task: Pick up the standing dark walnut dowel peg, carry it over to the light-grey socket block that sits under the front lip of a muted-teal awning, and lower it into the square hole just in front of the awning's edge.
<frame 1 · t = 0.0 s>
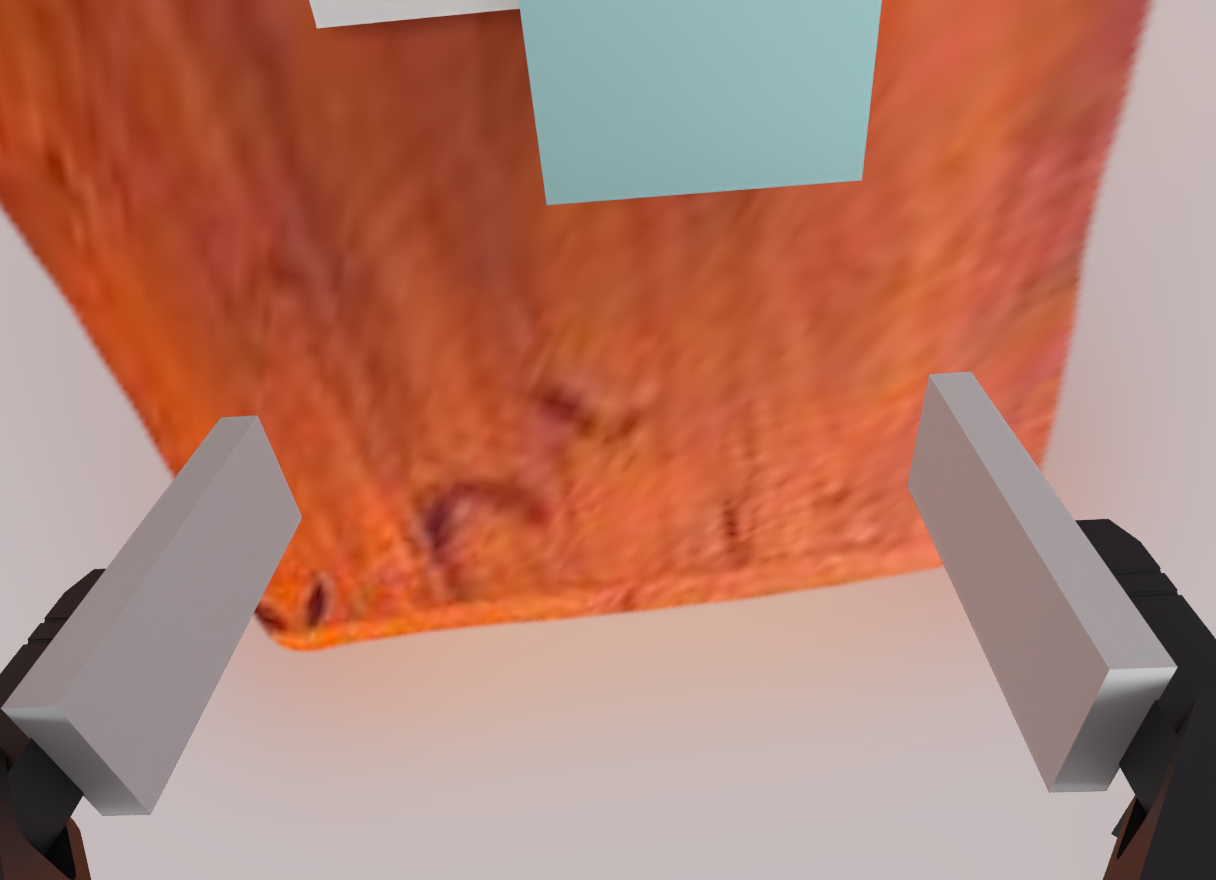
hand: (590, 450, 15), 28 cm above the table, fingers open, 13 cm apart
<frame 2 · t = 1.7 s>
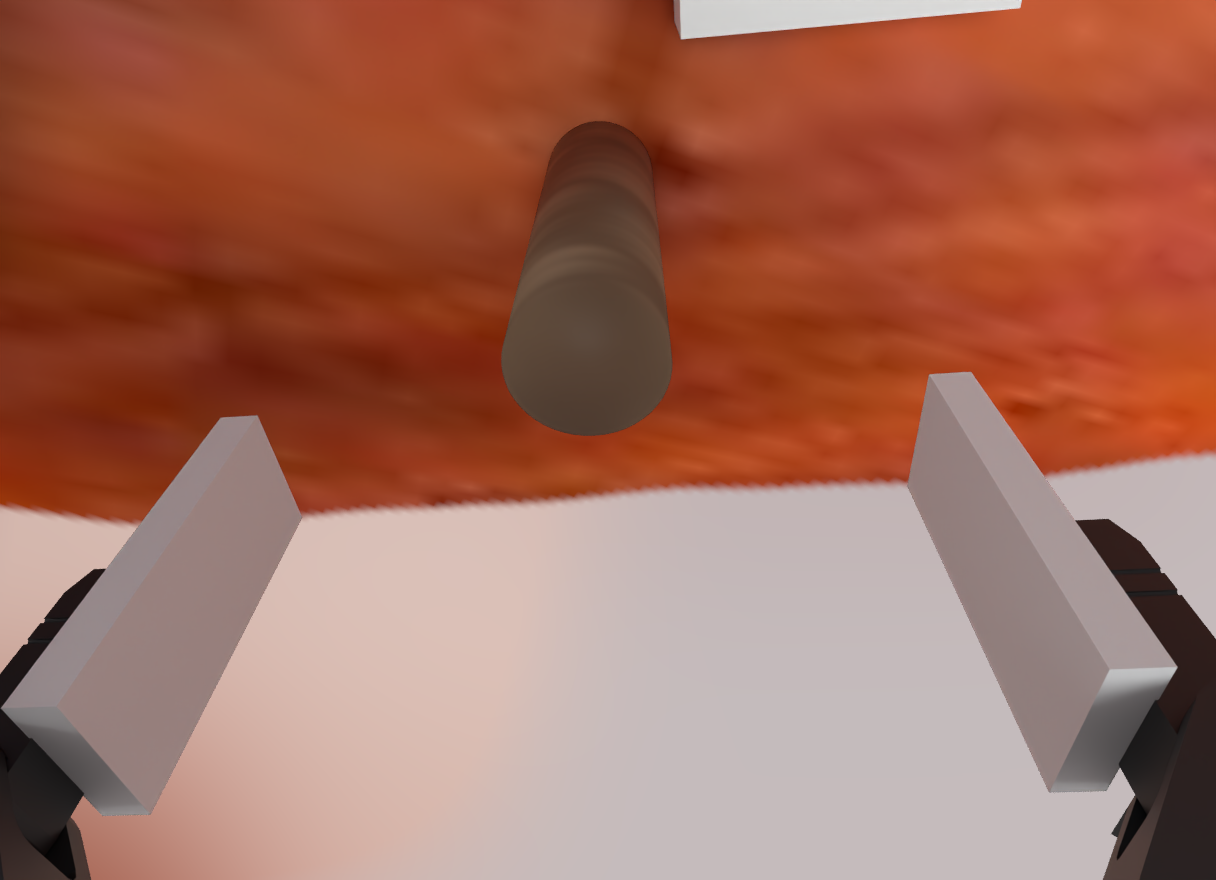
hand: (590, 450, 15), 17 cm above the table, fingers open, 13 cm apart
peg: (600, 176, 29), on the table
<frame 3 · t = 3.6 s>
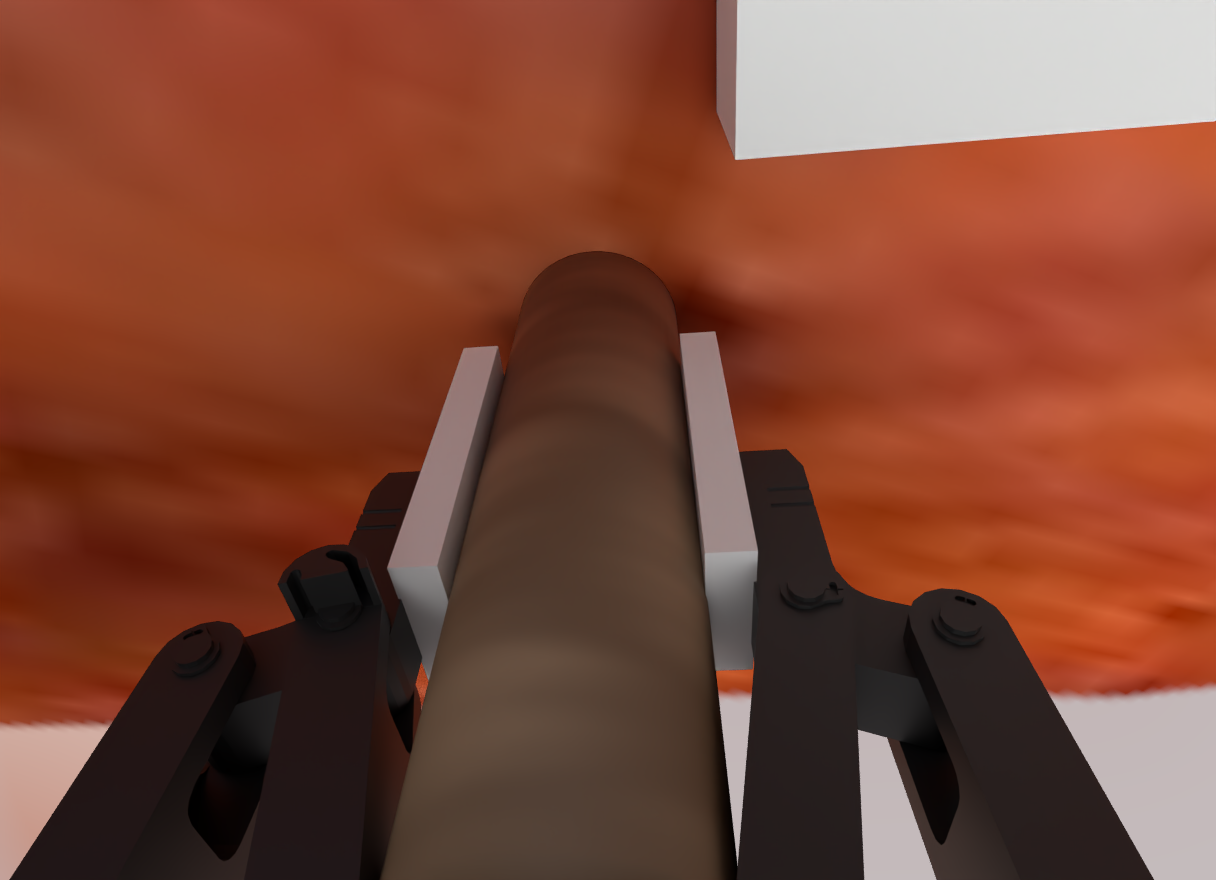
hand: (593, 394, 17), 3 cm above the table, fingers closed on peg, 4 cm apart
peg: (598, 325, 19), on the table, touching gripper
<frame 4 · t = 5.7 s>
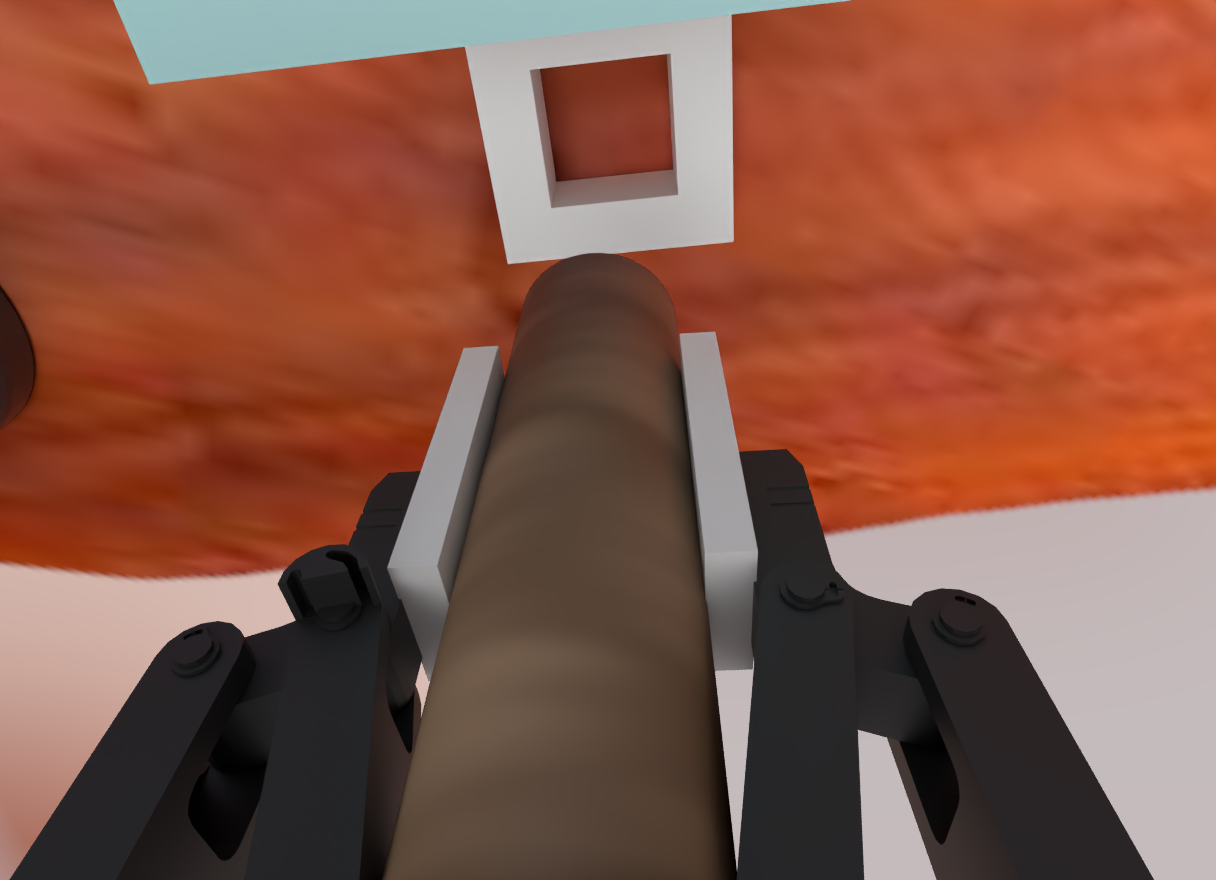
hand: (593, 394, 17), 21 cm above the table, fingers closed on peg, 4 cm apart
peg: (598, 326, 20), point 18 cm above the table, touching gripper
station: (608, 113, 33), on the table
when the fingers open (4 cm above the table, at t = 8.2 s): peg stays where it is, resting in station.
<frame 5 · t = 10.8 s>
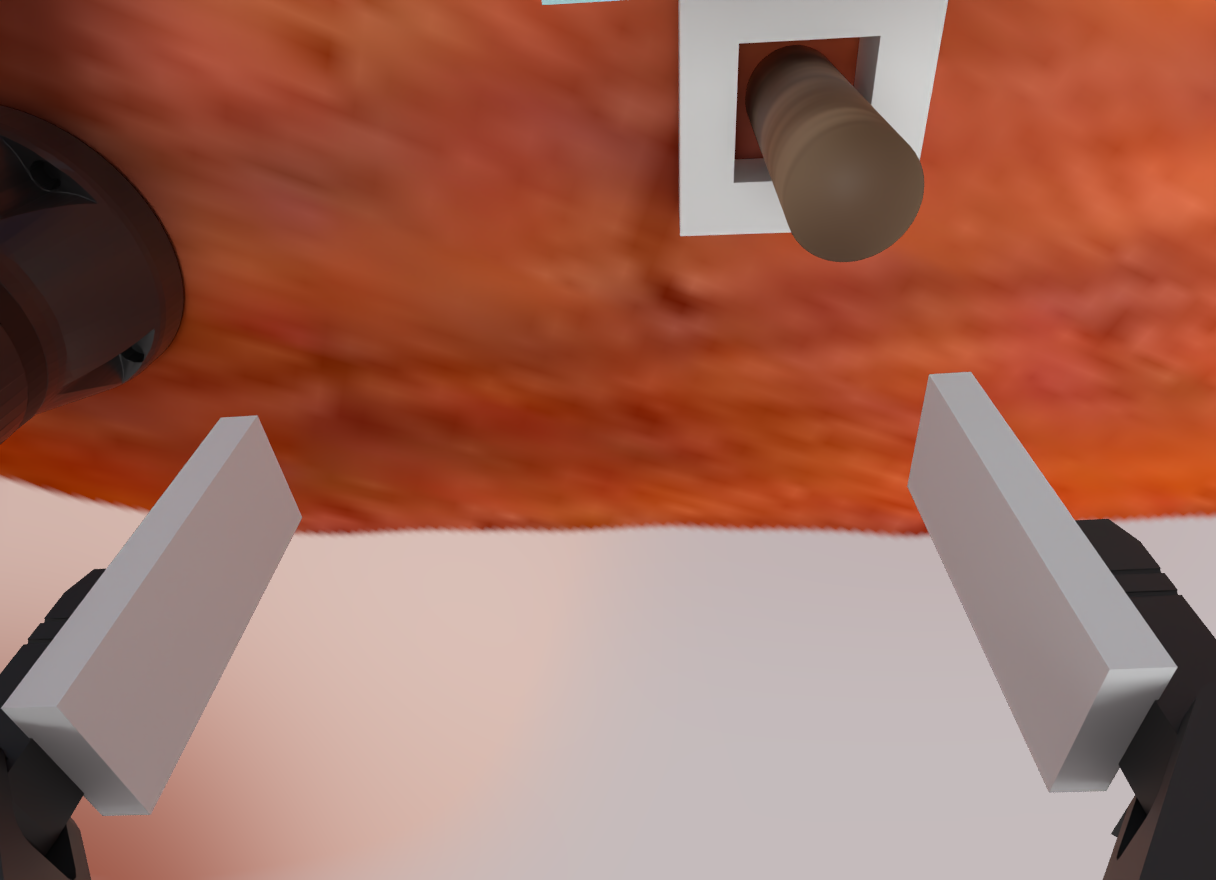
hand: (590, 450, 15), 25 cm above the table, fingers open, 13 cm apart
peg: (790, 95, 34), resting in station
station: (791, 94, 34), on the table
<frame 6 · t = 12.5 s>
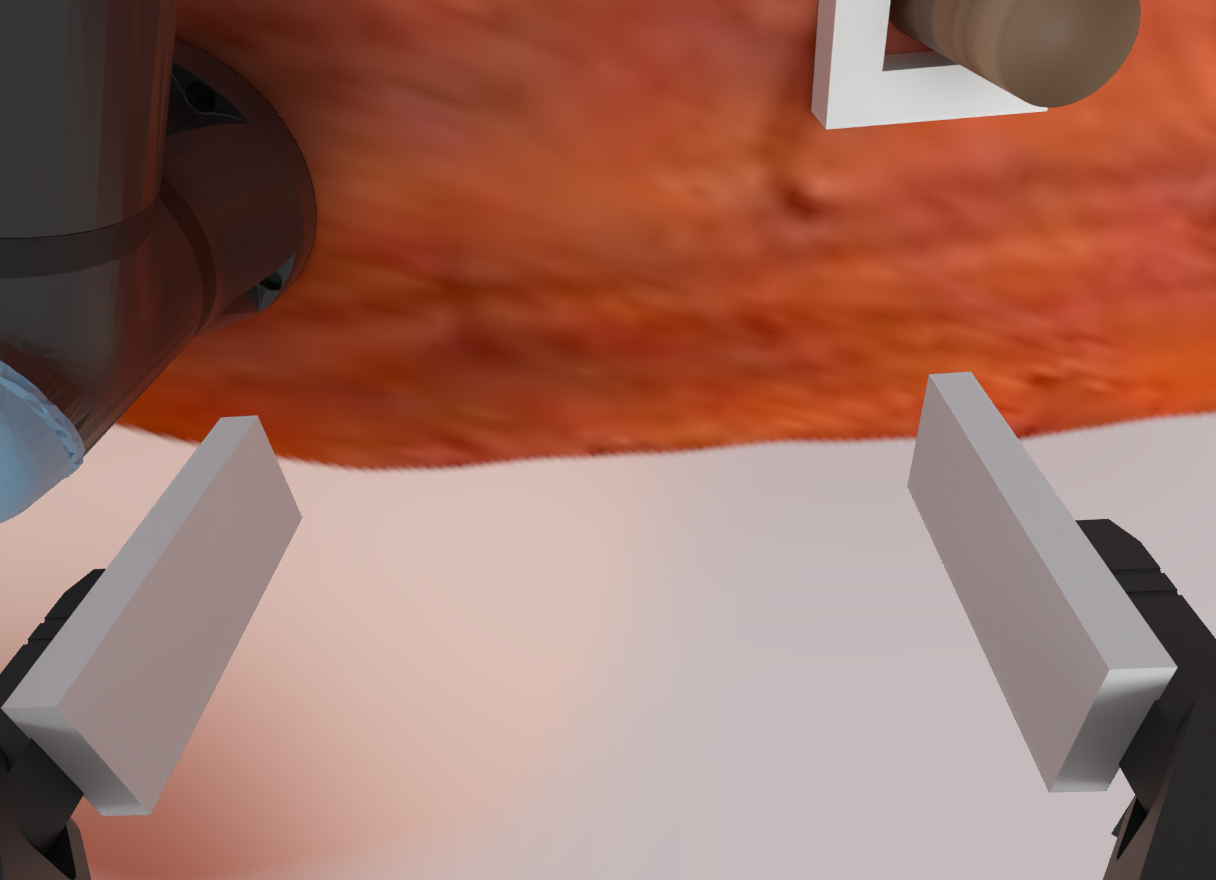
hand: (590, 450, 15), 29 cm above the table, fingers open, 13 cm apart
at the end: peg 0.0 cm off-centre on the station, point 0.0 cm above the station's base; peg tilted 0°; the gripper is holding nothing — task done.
